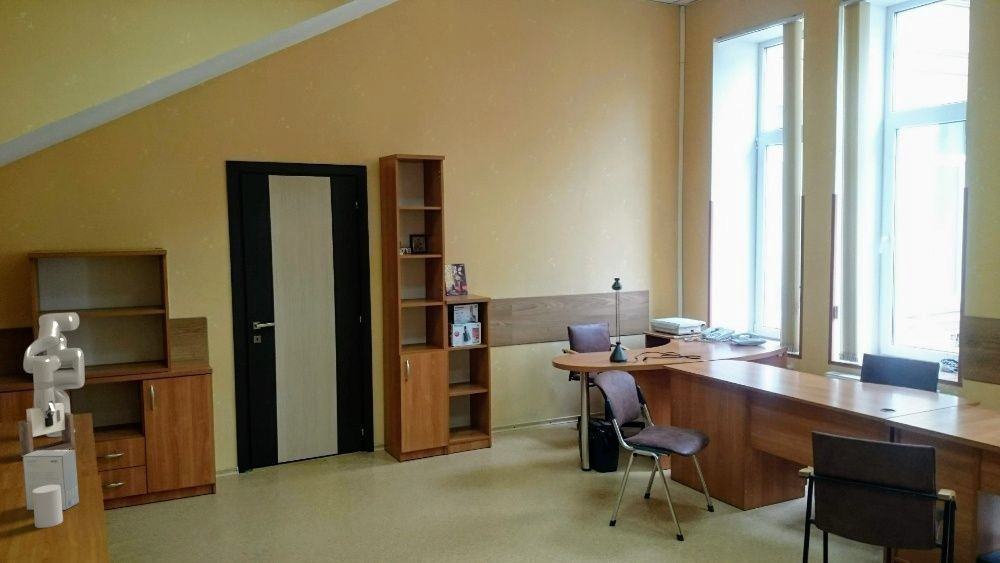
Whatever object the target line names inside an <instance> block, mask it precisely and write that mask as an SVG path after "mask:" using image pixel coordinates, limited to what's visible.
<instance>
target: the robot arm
mask: <svg viewBox="0 0 1000 563" xmlns="http://www.w3.org/2000/svg"><path fill="white" fill-rule="evenodd" d="M38 325H39V330H38V338H37V339H35V340H34V341H33V342H32V343H31V344H30V345H29V346H28V347H27V348H26V350H25V353H24V357H23V370H24V371H25V372H26V373H28V374H32V376H33V389H34V390H33V408H35V407H38V408H41V411H42V412H45V416H46V418H45V426H46V427H49V426H53V414H54V412H55V403H63V404H64V412H65V413H70V414H72V413H71V403H70V402H71V401H70V396H69V395H68V393H66V391H65V390H72V389H74V390H75V389H80V388H82V387H84V385H85V382H86V381H85V379H86V378H85V375H86V374H85V355H84V352H83V350H82V349H81V348H79V347H67V345H68V344H67V342H68V341H67V337H66V336H65V335H64V334H63V333H62V332H66V331H67V332H68V331H75V330H76V329H78V328H79V326H80V316H79V314H78V313H76V312H71V311H70V312H56V313H55V312H53V313H46V314H42V315H40V316H39V318H38ZM45 351H46V355H38V354H40V353H42V352H45ZM37 355H38V356H37ZM66 368H73V369H66ZM59 369H63V370H59ZM48 409H50V410H49V411H47V410H48ZM48 412H49V413H48ZM75 433H76V429H75V428H74V434H75ZM45 436H46V437H48V438H58V437H59V438H60V437H62V433H61V430H60V431H56V432H52V433H47V434H45Z"/></svg>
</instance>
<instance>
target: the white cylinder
mask: <svg viewBox="0 0 1000 563" xmlns="http://www.w3.org/2000/svg"><path fill="white" fill-rule="evenodd" d="M33 504H34V510H33V514H34V516H33V517H34V518H33V519H34V526H35V528H38V529H39V528H40V529H43V528H51V527H54V526H57V525H60V524H61V523H63V522H64V517H63V510H62V501H61V487H60V485H46V486H42V487H38V488H36V489H34V490H33Z"/></svg>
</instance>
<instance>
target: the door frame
mask: <svg viewBox="0 0 1000 563" xmlns="http://www.w3.org/2000/svg"><path fill="white" fill-rule="evenodd" d="M70 413H71V412H70ZM70 413H65V412H64V419H65V430H61V433H62V436H61V440H59V441H53V442H51V443H50V442H49V443H47V444H42V445H39V446H35V447H34V437H32V423H28V422H27V421H23V420H21V421H18V435H19V436H18V437H19V446H20V447H19V449H20V458H21V457H23V456H24V455H27V454H29V453H31V452H34V451H36V450H69V449H70V450H73V449H72V448H74V449H76V441H75V440H76V439H75V438H76V436H75V433H74V429H75V426H74V425H75V424H74V423H75V422H74V421H75V420H74V414H73V413H71V414H70Z"/></svg>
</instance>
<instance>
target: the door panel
mask: <svg viewBox="0 0 1000 563" xmlns="http://www.w3.org/2000/svg"><path fill="white" fill-rule="evenodd" d="M49 410H50V409H48V410H47V411H49ZM25 411H26V422H28V423H32V437H33V438H34V437H35V438H36V437H38V436H43V435H46V434H47V433H52V432H56V431H60V430H65V419H64V404H63V403H55V412H54V414H53V426H49V427H46V426H45V418H46V416H45V412H42V411H41V408H38V407H35V408H34V407H32V408H31V407H30V408H27V409H26V410H25ZM48 413H49V412H48Z"/></svg>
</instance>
